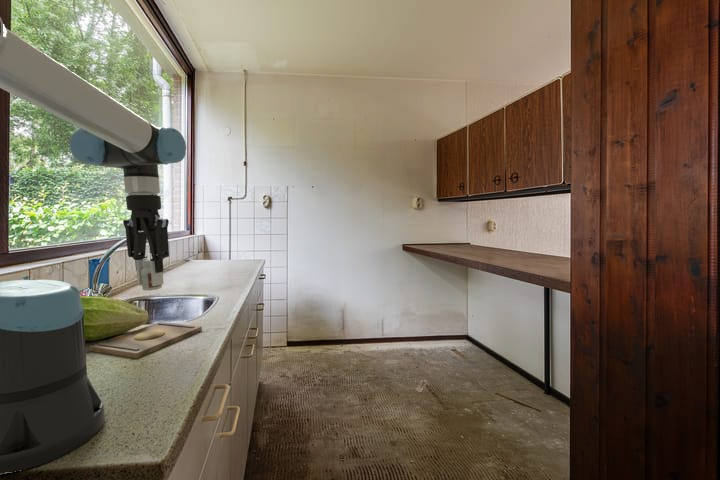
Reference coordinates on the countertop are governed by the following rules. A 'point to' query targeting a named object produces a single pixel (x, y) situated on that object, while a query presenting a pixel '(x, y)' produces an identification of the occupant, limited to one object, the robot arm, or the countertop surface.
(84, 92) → the robot arm
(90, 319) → the green papaya
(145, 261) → the pill bottle
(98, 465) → the countertop surface
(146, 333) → the cutting board
